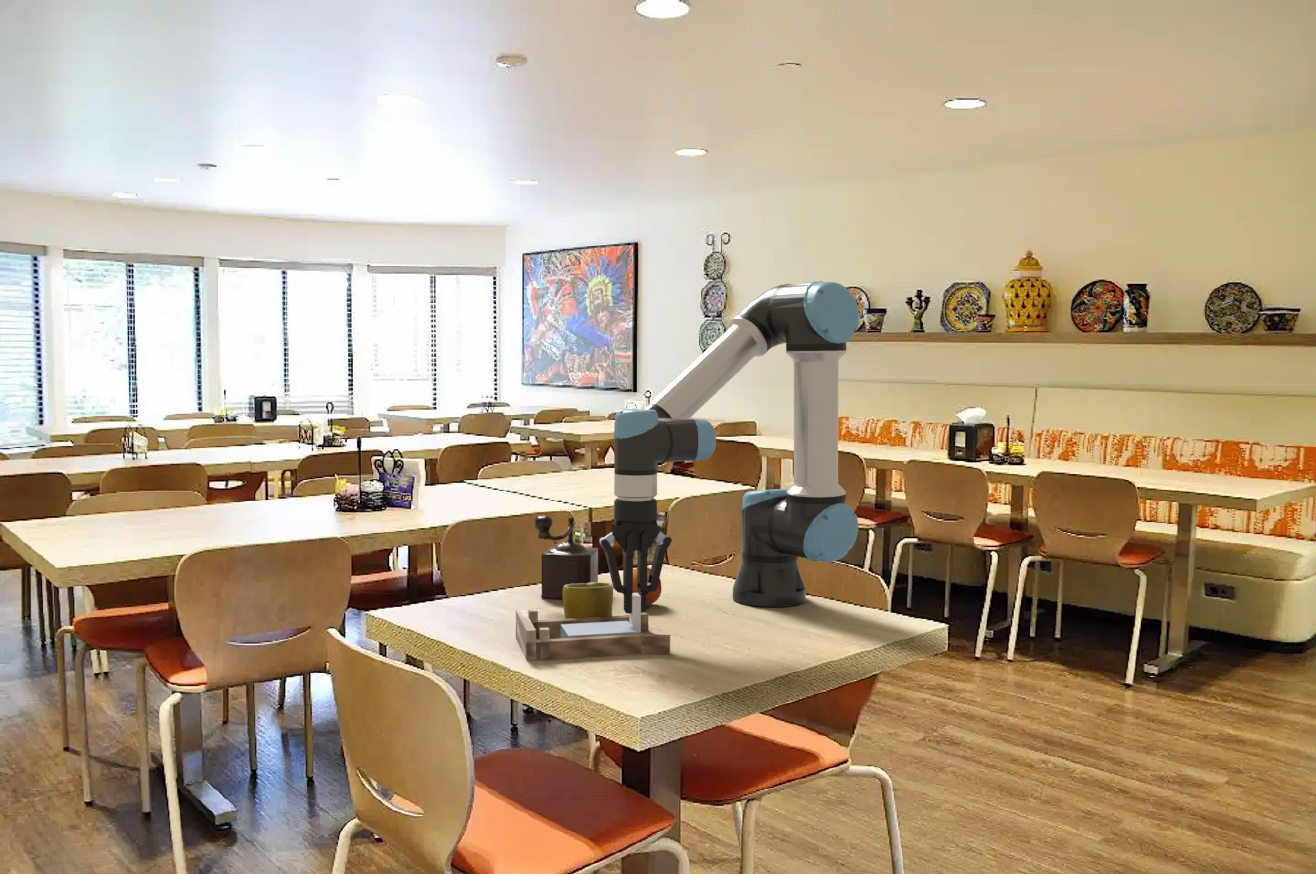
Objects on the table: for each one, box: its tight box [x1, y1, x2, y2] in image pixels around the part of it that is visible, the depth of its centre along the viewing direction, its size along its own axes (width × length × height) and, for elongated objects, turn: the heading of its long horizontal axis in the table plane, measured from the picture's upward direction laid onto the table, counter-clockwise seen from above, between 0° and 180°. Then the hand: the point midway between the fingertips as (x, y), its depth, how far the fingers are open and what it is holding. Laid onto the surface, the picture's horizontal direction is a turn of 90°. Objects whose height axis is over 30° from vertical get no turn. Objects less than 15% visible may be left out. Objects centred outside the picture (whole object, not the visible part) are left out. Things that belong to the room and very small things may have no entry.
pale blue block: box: [561, 621, 639, 638], centre depth 190 cm, size 12×8×4 cm, turn 105°
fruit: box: [633, 566, 663, 607], centre depth 221 cm, size 8×8×8 cm
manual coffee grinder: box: [533, 514, 599, 601], centre depth 228 cm, size 16×11×18 cm
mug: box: [562, 581, 614, 619], centre depth 204 cm, size 12×10×10 cm
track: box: [515, 608, 671, 661], centre depth 191 cm, size 24×18×5 cm
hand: (634, 630), depth 193 cm, fingers closed
